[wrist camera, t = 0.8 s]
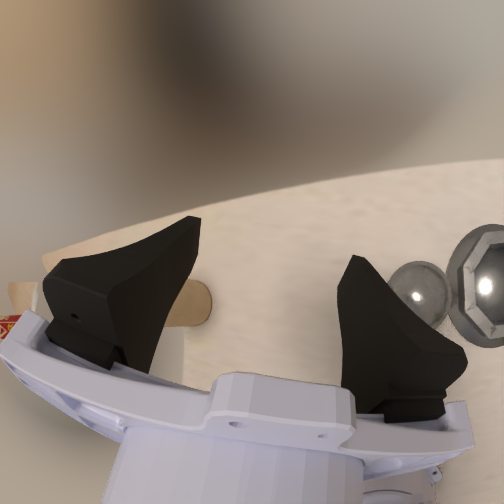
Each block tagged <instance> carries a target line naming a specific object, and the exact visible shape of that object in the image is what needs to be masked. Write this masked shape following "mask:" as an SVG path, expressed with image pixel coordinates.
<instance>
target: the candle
mask: <svg viewBox="0 0 504 504" xmlns="http://www.w3.org/2000/svg"><path fill="white" fill-rule="evenodd" d="M211 305H212V301H211V295H210V292H209V290H208V289H207V287H206V286H205V285H204V284H203V283H201V282H198V281H194V280H188V279H187V280H186V282H185V284H184V286H183V287H182V289H181V291H180V293H179V295H178V296H177V298H176V300H175V302H174V304H173V306H172V308H171V310H170V312H169V314H168V317H167V319H166V322H165V325H164V327H175V326H195V325H199V324H201V323H203V322H204V321H205V320H206V319H207V318H208V316H209V314H210V311H211Z"/></svg>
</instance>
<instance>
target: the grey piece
mask: <svg viewBox="0 0 504 504" xmlns="http://www.w3.org/2000/svg"><path fill="white" fill-rule="evenodd" d="M446 277H447V279H448V281H449V283H450V287H451V293H452V300H451V306H450V309H449V312H448V314H449V316H450V319H451V321H452V323H453V325H454V326H455V328H456V329H457V331H458V332H459V333H460V334H461V335H462V336H463V337H464V338H465V339H466V340H468V341H469V342H471V343H473V344H475V345H477V346H480V347H485V348H495V347H499V346H503V345H504V226H503V225H498V224H488V225H483V226H481V227H478V228H476V229H474V230H472V231H471V232H470V233H469V234H467V235H466V236H465V237H464V238H463V239H462V240H461V241H460V243H459V244H458V245H457V247H456V248H455V250H454V252H453V254H452V256H451V258H450V261H449V264H448V267H447V271H446Z"/></svg>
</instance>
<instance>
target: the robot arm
mask: <svg viewBox="0 0 504 504" xmlns="http://www.w3.org/2000/svg"><path fill="white" fill-rule="evenodd" d="M200 227H201V218H198V217H193V216H187V217H185V218H183V219H181V220H179V221H178V222H176V223H174V224H172V225H170V226H169V227H167V228H165V229H163V230H161V231H159V232H157V233H155V234H153V235H151V236H149V237H147V238H145V239H143V240H140V241H138V242H136V243H133V244H130V245H128V246H125V247H122V248H118V249H115V250H112V251H108V252H104V253H100V254H95V255H90V256H84V257H76V258H68V259H62V260H61V261H60V262H59V263H58V264H57V265H56V266H55V267H54V268H53V269H52V271H51V272H50V273H49V274H48V275H47V276H46V277H45V278H44V280H43V292H44V295H45V298H46V300H47V303H48V305H49V307H50V310H51V312H52V314H53V316H54V319H53V320H52V322H51V323H49V322H48V321H47V320H46V319H45V318H43V317H42V316H40V315H38V314H36V313H34V312H33V311H31V310H29V309H26V311H25V312H24V313H23V314H22V316H21V317H20V318H19V320H18V321H17V322H16V324H15V325H14V326H13V328H12V329H11V330H10V332H9V333H8V335H7V336H6V337H5V339H4V340H3V342H2V343H1V345H0V358H1V359H2V360H3V361H4V363H5V364H6V365H7V366H8V368H9V369H10V370H11V371H12V372H13V374H14V375H15V376H16V377H17V378H18V379H19V380H20V382H21V383H22V384H23V385H25V386H26V387H27V388H29V389H30V390H32V391H33V392H34V393H36V394H37V395H39V396H40V397H42V398H43V399H44V400H46V401H47V402H49V403H50V404H52V405H53V406H55V407H56V408H58V409H59V410H61V411H63V412H64V413H66V414H67V415H69V416H71V417H72V418H74V419H75V420H77V421H79V422H81V423H82V424H84V425H86V426H88V427H89V428H91V429H93V430H95V431H97V432H98V433H100V434H102V435H104V436H106V437H108V438H110V439H112V440H114V441H116V442H118V443H120V444H121V445H120V448H119V451H118V454H117V456H116V459H115V462H114V465H113V468H112V470H111V473H110V476H109V479H108V482H107V485H106V488H105V491H104V494H103V497H102V500H101V504H439V503H437V502H436V498H435V483H436V482H438V481H440V480H441V479H442V477H443V475H442V473H441V471H440V470H439V468H438V467H437V466H438V465H440V464H442V463H444V462H446V461H448V460H450V459H452V458H454V457H456V456H458V455H460V454H462V453H464V452H466V451H468V450H469V449H471V448H473V447H474V446H475V444H474V438H473V433H472V428H471V423H470V418H469V414H468V410H467V406H466V402H465V401H456V402H449V403H447V404H445V405H444V402H443V399H444V398H445V397H446V396H447V394H446V390H445V389H446V388H448V387H449V386H450V385H451V384H452V383H453V382H454V381H456V380H457V379H458V378H459V377H460V376H461V375H462V374H463V372H464V371H465V369H466V367H467V364H468V361H467V357H466V355H465V352H464V350H463V348H462V347H461V346H459V345H458V344H456V343H454V342H453V341H451V340H449V339H448V338H446V337H444V336H443V335H442V334H440V333H439V332H437V331H436V330H435V329H433V328H432V327H431V326H429V325H428V324H427V323H426V322H424V321H423V320H422V319H421V318H420V317H419V316H417V315H416V314H415V313H414V312H413V311H412V310H411V309H410V308H409V307H408V306H407V305H406V304H405V303H404V302H403V301H402V300H401V299H400V298H399V297H398V296H397V294H396V293H395V292H394V291H393V290H392V289H391V288H390V286H389V285H388V284H387V283H386V282H385V281H384V279H383V278H382V277H381V276H380V274H379V273H378V272H377V271H376V270H375V268H374V267H373V266H372V265H371V264H370V263H369V262H368V261H367V260H366V259H365V258H364V257H360V256H357V255H352V258H351V260H350V262H349V264H348V266H347V268H346V270H345V272H344V275H343V277H342V279H341V281H340V283H339V285H338V287H337V306H338V314H339V322H340V329H341V337H342V348H343V360H342V380H341V387H338V386H335V385H327V384H319V383H311V382H304V381H297V380H291V379H284V378H279V377H273V376H267V375H262V374H257V373H248V372H232V373H227V374H223V375H220V376H219V377H218V378H217V379H216V380H215V381H214V382H213V384H212V388H211V392H208V391H202V390H198V389H194V388H190V387H187V386H183V385H180V384H177V383H173V382H170V381H167V380H164V379H161V378H158V377H155V376H152V375H149V374H148V373H149V370H150V366H151V363H152V359H153V356H154V353H155V350H156V347H157V344H158V341H159V338H160V335H161V333H162V330H163V327H164V325H165V322H166V319H167V317H168V314H169V312H170V310H171V308H172V306H173V304H174V302H175V300H176V298H177V296H178V295H179V293H180V291H181V289H182V287H183V286H184V284H185V282H186V280H187V278H188V276H189V275H190V273H191V271H192V268H193V266H194V263H195V261H196V258H197V256H198V248H199V237H200ZM435 471H436V473H433V472H435Z"/></svg>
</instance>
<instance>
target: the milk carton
mask: <svg viewBox="0 0 504 504" xmlns="http://www.w3.org/2000/svg"><path fill="white" fill-rule="evenodd" d="M21 316H22V314H21V315H10V316H0V338H1V339H5V337H6V336H7V335H8V333H9V332H10V330H11V329H12V328H13V326H14V325H15V324H16V322H17V321H18V320H19V318H20V317H21Z"/></svg>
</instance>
